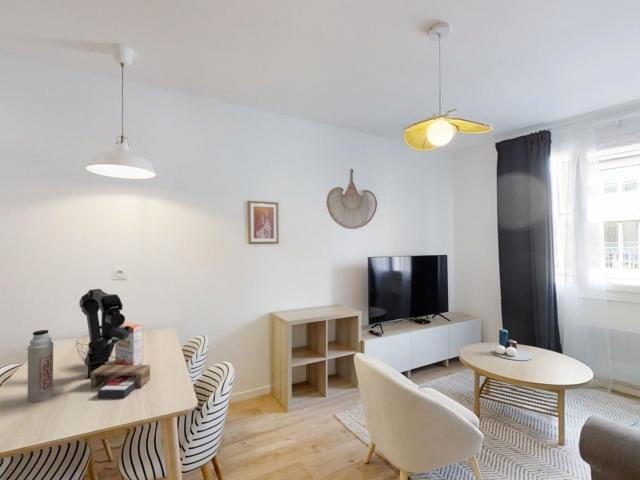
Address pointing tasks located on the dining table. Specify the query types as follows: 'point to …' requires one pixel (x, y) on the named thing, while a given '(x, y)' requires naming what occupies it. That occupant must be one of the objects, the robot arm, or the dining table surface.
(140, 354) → the cracker box
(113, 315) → the robot arm
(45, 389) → the thermos bottle
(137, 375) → the overhang shelf
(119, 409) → the dining table surface
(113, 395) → the calculator
